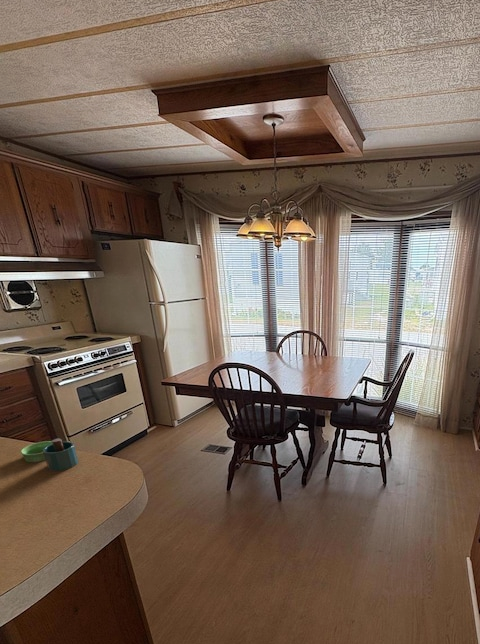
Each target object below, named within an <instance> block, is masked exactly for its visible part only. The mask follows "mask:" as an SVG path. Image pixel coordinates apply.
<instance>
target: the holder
mask: <svg viewBox="0 0 480 644" xmlns="http://www.w3.org/2000/svg"><path fill="white" fill-rule="evenodd" d="M62 443H63V447H64V450H63V451H60V452H55V450H54V446H53V444H51V445H48V446H46V447H45V448H44V449H43V451H42V452H43V454H44V457H45V460H44V461H45V463H46V466H47V469H48V470H49V471H51V472H61V471H65V470H70V469H72V468H74V467H76V466H77V465H78V464H79V461H80V460H79V456H78V454H77V450H76V446H75V443H74V442H73V441H62Z"/></svg>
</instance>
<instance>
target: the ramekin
mask: <svg viewBox="0 0 480 644" xmlns="http://www.w3.org/2000/svg"><path fill="white" fill-rule="evenodd" d="M51 444H53V443H52V440H48V441H47V440H46V441H45V440H44V441H38V442H35V443H31V444H29V445H26V446H24V447H23V448H22V449H21V450H20V454H21V455H22V456H23V458H24V460H25V461H26V462H28V463H38V462H43V461H46V460H45V457H44V454H43V449H44V448H45V447H46V446H48V445H51Z"/></svg>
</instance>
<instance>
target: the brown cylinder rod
mask: <svg viewBox="0 0 480 644" xmlns="http://www.w3.org/2000/svg"><path fill="white" fill-rule="evenodd" d="M51 441H52V443H53V446H54V450H55V452H60V451H63V450H64V447H63V443H62V442H63V440H62V438H54V439H52V440H51Z"/></svg>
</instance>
